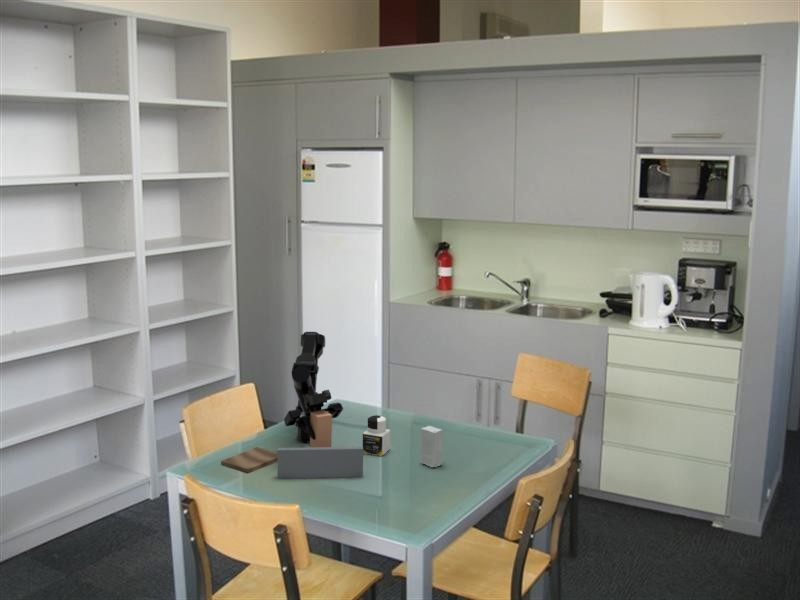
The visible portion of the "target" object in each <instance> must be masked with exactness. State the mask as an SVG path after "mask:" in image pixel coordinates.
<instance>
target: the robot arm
mask: <svg viewBox="0 0 800 600" xmlns="http://www.w3.org/2000/svg"><path fill="white" fill-rule="evenodd" d="M299 345H300V347H301V348H302V349H301V352H300V353H301V354H300V355H298V356H297V357H296V359H295V362H293V365H292V368H291V379H292V382H293V387H294V389H295V390H294V391H295V393H296V396H297V398H298V401H297V405H296V406H295V409H291V410H288V412H287V413H286V415H285V417H284V418H283V422H284V425H285V427H290V426H291V427H292V426H295V428H297V436H296V438H297V439H298V440H299V441H301V442H302V443H304V444H305V443H306V444H307V443H310V437H311V438H312V439H313V440H315V434H314V432H313V429H312V427H311V424H310V415H311V412H318V411H326V412H328V413H330V414H331V415H332V419H335V418H338V417H339V416H340V415H341V414H342V411H344V407H343V404H342V403H341V402H333V403H329V404H328V406H327V407H326V408H323V407H324V406H325V403H326V404H327V403H328V401H329V400H332V394H331V392H330V389H324V390H323V391H321V393H320V392H318V391H317V380H318V373H319V369H320V366H319V365H318V364H319V359H320V358H321V356H322V355H323V354H324V348H326V336H325V335H324V334H320V333H319V332H317V331H305V332H303V334H300V344H299Z"/></svg>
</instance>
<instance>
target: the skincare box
mask: <svg viewBox="0 0 800 600" xmlns="http://www.w3.org/2000/svg"><path fill="white" fill-rule="evenodd" d="M443 434H444V431H443V429H441V428H438V427H435V426H431V425H427V426H424V427H421V428H420V458H419V460H420V461H419V462H422V463H426V464H428V465H431V466H436V465H437V464H439V463H442V464H443V442H444V440H443V438H444V437H443Z"/></svg>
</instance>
